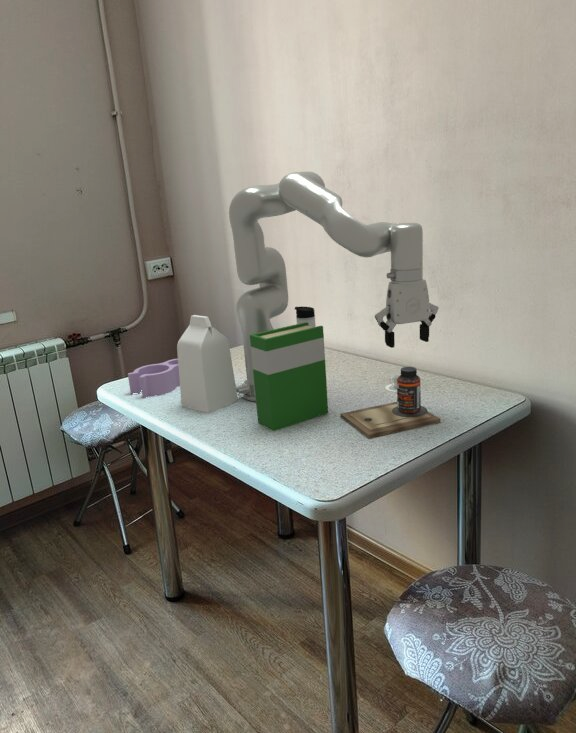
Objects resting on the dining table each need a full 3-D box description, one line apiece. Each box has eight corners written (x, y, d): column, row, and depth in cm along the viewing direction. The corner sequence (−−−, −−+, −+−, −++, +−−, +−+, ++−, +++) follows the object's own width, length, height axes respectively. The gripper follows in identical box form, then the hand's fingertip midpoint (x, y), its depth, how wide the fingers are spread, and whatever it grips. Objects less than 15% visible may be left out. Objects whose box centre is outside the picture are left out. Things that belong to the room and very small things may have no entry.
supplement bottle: (395, 413, 157) (394, 371, 154) (399, 405, 163) (398, 364, 159) (418, 415, 155) (418, 372, 152) (422, 406, 161) (422, 365, 157)
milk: (181, 405, 180) (169, 318, 172) (211, 393, 188) (201, 310, 180) (208, 413, 172) (197, 322, 165) (238, 400, 180) (228, 313, 173)
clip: (176, 376, 209) (173, 356, 207) (199, 382, 201) (197, 361, 199) (126, 393, 195) (122, 372, 193) (148, 400, 187) (145, 378, 185)
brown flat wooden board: (368, 438, 147) (368, 433, 147) (340, 417, 162) (340, 412, 161) (442, 421, 153) (442, 416, 153) (408, 402, 168) (408, 398, 168)
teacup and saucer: (418, 385, 182) (418, 372, 181) (411, 394, 175) (411, 381, 174) (389, 383, 186) (389, 370, 184) (381, 392, 179) (381, 379, 178)
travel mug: (299, 361, 214) (295, 305, 208) (318, 361, 213) (315, 304, 207) (297, 367, 208) (293, 309, 202) (317, 366, 207) (313, 308, 201)
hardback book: (312, 406, 171) (306, 322, 164) (328, 413, 165) (323, 326, 158) (258, 423, 162) (249, 334, 155) (273, 431, 156) (265, 339, 149)
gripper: (382, 281, 143) (383, 352, 148) (446, 273, 148) (445, 341, 153) (367, 277, 150) (369, 345, 155) (429, 269, 155) (428, 335, 160)
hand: (407, 343), depth 154 cm, fingers open, 9 cm apart
